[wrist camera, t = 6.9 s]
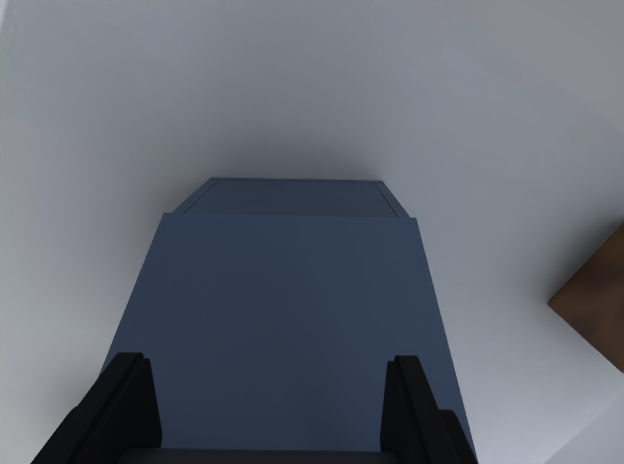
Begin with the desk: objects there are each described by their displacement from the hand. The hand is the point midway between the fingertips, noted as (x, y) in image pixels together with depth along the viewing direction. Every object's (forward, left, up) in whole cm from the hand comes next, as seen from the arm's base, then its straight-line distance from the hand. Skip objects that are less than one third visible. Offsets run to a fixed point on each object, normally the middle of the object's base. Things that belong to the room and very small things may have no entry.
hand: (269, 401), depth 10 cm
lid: (+1, +1, -4) cm, 4 cm away
